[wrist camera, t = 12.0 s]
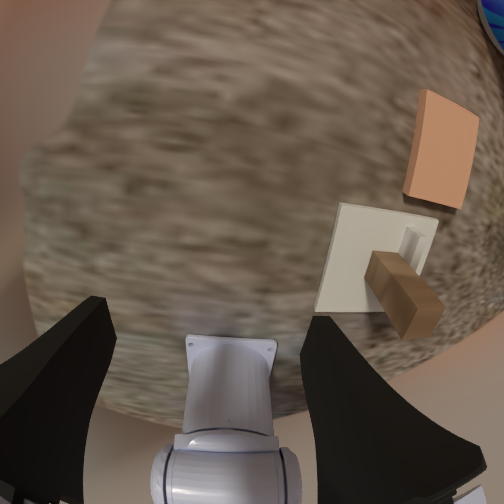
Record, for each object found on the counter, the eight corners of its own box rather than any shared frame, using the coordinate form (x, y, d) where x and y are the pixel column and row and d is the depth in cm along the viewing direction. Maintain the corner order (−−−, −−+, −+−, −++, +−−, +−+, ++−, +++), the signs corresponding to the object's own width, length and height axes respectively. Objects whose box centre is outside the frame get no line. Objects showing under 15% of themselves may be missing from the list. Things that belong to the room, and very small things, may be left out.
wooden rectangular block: (387, 301, 22) (422, 359, 15) (355, 301, 21) (387, 365, 15) (414, 226, 18) (468, 274, 12) (380, 221, 18) (433, 273, 12)
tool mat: (401, 307, 23) (404, 311, 22) (313, 307, 22) (314, 311, 22) (435, 218, 19) (438, 220, 18) (339, 202, 18) (341, 204, 17)
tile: (399, 190, 18) (451, 204, 18) (408, 195, 17) (460, 209, 17) (416, 89, 14) (468, 115, 15) (427, 89, 13) (479, 117, 14)
